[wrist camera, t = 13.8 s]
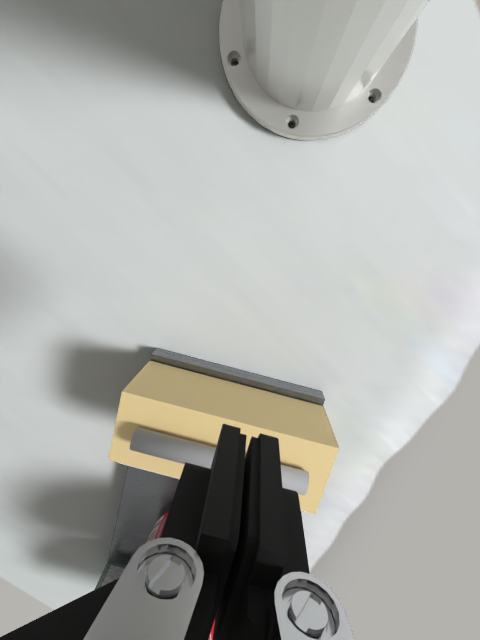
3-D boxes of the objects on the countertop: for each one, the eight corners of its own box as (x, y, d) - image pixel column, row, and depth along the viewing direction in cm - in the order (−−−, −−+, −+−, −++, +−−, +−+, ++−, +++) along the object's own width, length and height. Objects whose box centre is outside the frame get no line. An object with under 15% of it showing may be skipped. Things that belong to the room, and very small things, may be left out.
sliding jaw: (149, 360, 28) (112, 401, 21) (323, 406, 28) (344, 461, 21) (136, 423, 29) (97, 481, 22) (302, 467, 30) (315, 538, 22)
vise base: (156, 348, 30) (123, 384, 22) (321, 391, 30) (341, 441, 22) (110, 567, 35) (70, 655, 28) (250, 604, 35) (247, 701, 28)
